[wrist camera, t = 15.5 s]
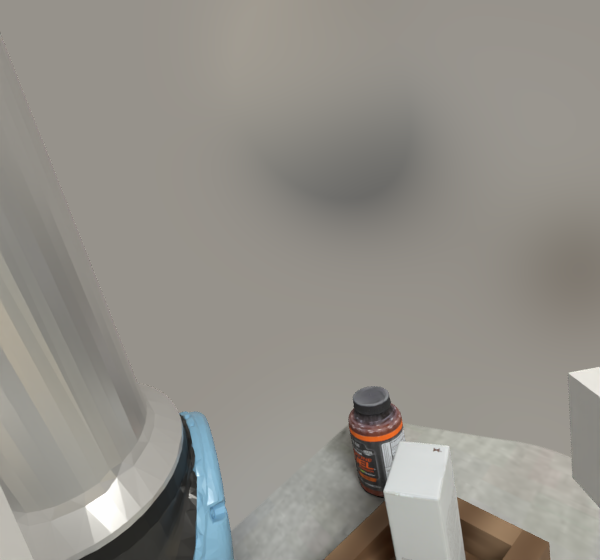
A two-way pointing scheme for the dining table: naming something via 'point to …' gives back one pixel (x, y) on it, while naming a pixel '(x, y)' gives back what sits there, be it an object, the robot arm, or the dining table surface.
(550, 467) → the dining table surface
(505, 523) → the walnut tray
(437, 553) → the skincare box
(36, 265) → the robot arm
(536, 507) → the dining table surface
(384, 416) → the supplement bottle
